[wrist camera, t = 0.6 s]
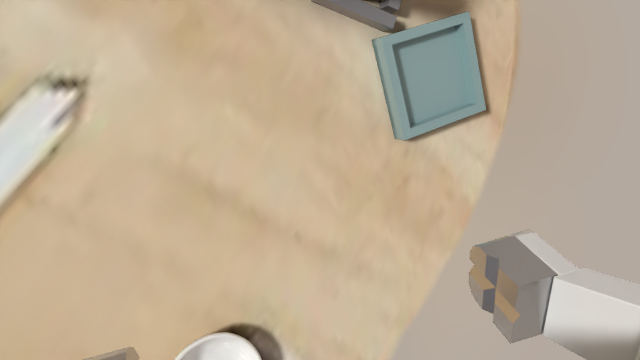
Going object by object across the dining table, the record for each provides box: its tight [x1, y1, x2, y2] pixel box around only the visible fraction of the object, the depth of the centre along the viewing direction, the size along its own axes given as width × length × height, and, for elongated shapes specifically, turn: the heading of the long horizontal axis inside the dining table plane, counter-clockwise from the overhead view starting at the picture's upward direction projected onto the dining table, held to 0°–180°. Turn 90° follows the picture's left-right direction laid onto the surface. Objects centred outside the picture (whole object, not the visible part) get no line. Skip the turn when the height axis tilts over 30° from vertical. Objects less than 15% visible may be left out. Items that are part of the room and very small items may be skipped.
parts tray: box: [372, 11, 486, 140], centre depth 57 cm, size 13×13×2 cm
